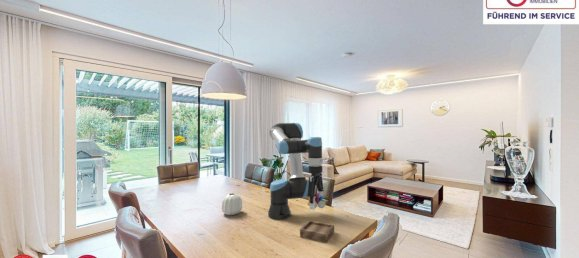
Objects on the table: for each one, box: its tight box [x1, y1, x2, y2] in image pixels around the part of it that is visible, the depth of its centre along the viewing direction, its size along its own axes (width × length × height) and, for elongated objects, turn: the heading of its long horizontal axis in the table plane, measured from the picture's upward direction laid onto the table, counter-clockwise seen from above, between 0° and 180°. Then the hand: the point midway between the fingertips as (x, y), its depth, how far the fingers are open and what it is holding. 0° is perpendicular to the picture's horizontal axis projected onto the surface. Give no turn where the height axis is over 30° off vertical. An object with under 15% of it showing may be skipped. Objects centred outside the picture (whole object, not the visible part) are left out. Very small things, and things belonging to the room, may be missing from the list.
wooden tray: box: [299, 220, 335, 243], centre depth 128 cm, size 15×13×4 cm
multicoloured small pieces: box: [307, 192, 326, 209], centre depth 128 cm, size 8×10×7 cm
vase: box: [221, 192, 243, 216], centre depth 163 cm, size 14×14×13 cm
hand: (316, 206), depth 128 cm, fingers closed on multicoloured small pieces, 10 cm apart
